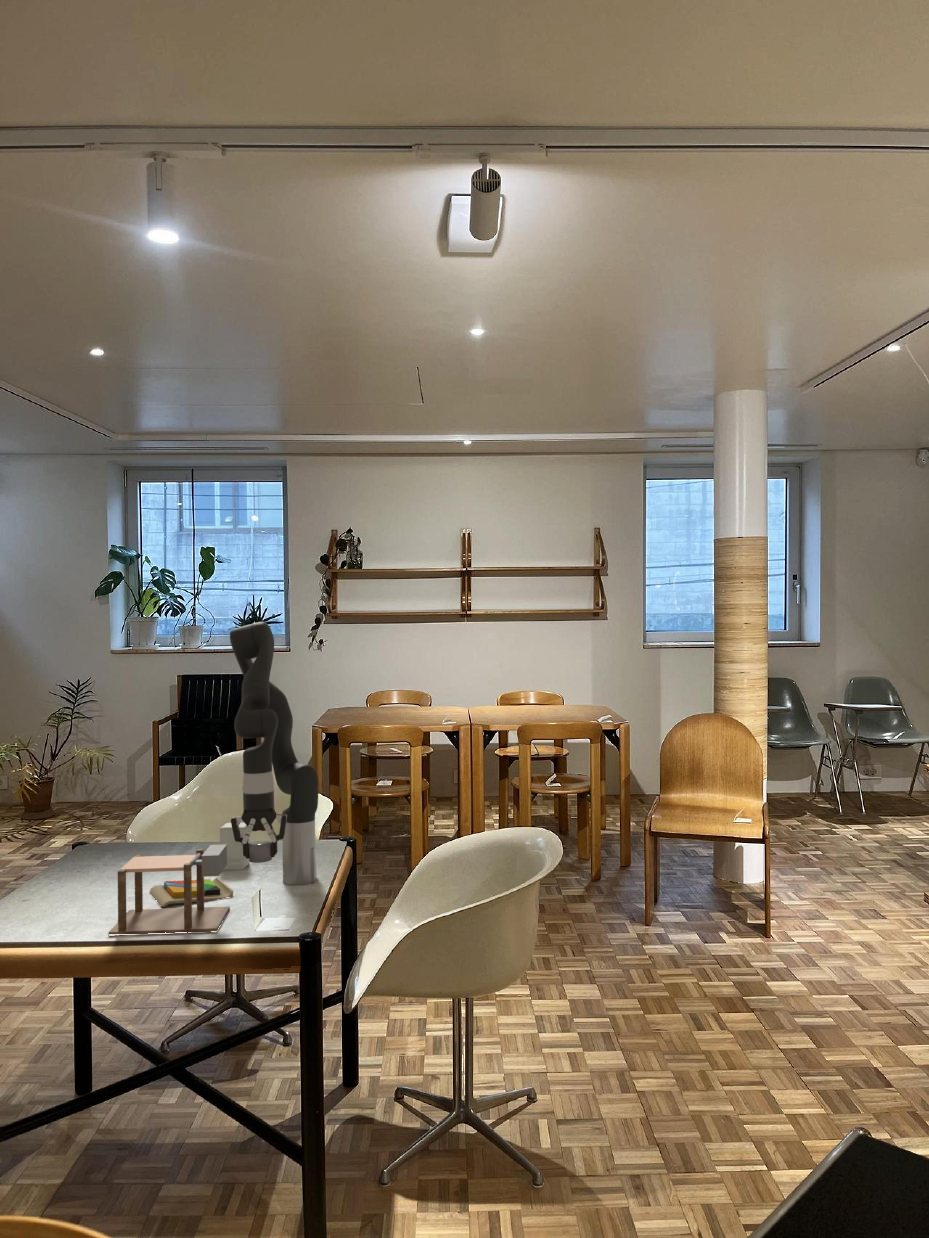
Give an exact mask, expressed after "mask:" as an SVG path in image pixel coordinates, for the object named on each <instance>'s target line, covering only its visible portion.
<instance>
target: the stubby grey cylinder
mask: <svg viewBox="0 0 929 1238" xmlns="http://www.w3.org/2000/svg"><path fill="white" fill-rule="evenodd" d="M272 859H273V857H271V840H270V841H268V840H256V841H252V842H249V863H254V864H257V863H258V864H260V863H268V862H270V861H272Z"/></svg>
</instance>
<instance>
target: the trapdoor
mask: <svg viewBox="0 0 929 1238" xmlns="http://www.w3.org/2000/svg"><path fill="white" fill-rule="evenodd" d="M200 856H201V853H198V854H197V855H196V854H183V855H182V854H181V855H150V856H148V855H147V856H146V855H145V856H143V855H142V857H134V856H133V857H132V858H131V859H130V860H129V861H127V862H126V863H125V864H124V865H123V866H122V867H121V868H120V869H119V870H126V874H127V873H135V872H142V873H146V872H147V873H154V872H184V864H185V863H191V868H192V867H193V866H196V865H202V877H204V878H205V877H219V876H220V875H221V873H222V872H223V871H224V870H223V869H224V868H225V867H226V865H227V844H225V845H220V844H210V845H209V846H208V848H207V849H206V850H205V851H204V854H203V855H202V860H198V859H199V857H200Z"/></svg>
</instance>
